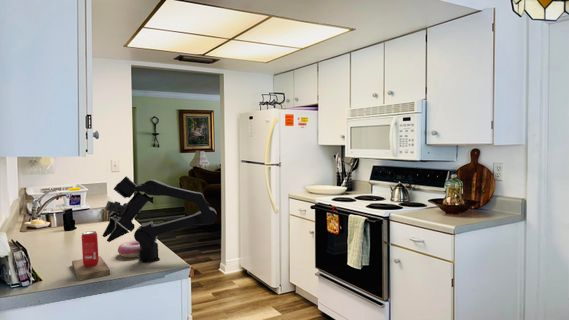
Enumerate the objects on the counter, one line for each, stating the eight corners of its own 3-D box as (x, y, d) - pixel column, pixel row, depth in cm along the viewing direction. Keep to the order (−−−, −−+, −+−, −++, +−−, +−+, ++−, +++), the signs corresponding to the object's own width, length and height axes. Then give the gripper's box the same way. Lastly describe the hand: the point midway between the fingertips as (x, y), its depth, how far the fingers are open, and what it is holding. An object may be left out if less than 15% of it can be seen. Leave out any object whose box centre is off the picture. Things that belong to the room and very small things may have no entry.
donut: (127, 261, 158) (127, 249, 157) (111, 255, 166) (111, 243, 166) (158, 253, 168) (158, 241, 167) (141, 248, 177) (141, 237, 176)
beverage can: (80, 267, 146) (78, 234, 145) (89, 262, 151) (87, 230, 150) (93, 267, 145) (91, 234, 144) (101, 262, 150) (100, 231, 149)
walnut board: (100, 260, 159) (100, 256, 159) (110, 274, 142) (110, 269, 142) (72, 265, 154) (71, 260, 154) (78, 280, 137) (78, 275, 137)
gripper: (113, 190, 160) (84, 222, 155) (123, 195, 145) (91, 230, 139) (134, 207, 165) (107, 238, 159) (147, 214, 149) (117, 249, 144)
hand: (105, 238), depth 150 cm, fingers open, 9 cm apart
